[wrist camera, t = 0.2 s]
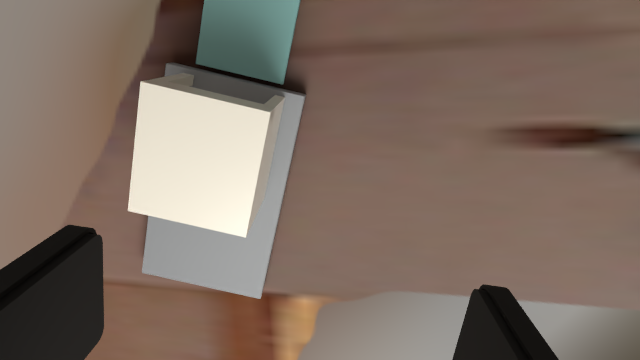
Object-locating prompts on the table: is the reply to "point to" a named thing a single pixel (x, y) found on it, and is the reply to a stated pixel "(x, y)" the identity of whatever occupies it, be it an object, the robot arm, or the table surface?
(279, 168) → the puzzle board
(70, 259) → the robot arm
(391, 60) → the table surface
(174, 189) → the sliding cover
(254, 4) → the teal mat
